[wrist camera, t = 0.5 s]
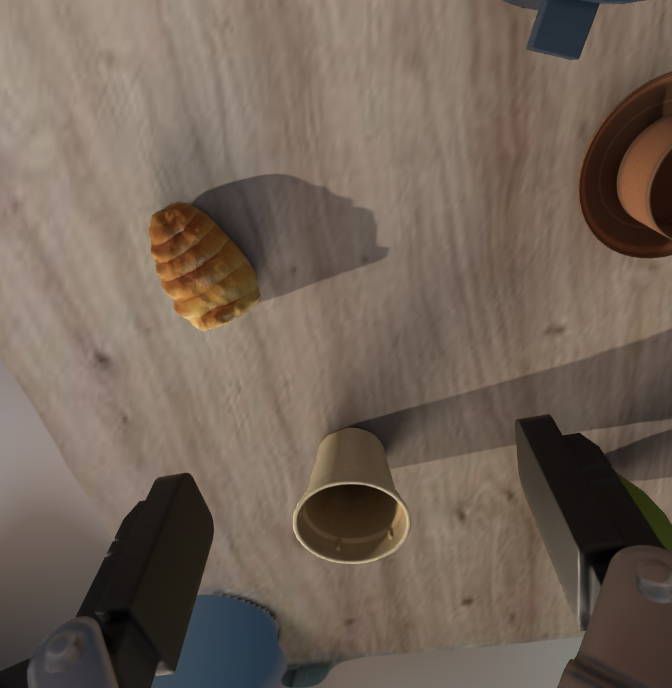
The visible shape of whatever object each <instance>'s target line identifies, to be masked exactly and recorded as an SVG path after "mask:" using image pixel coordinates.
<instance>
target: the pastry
mask: <svg viewBox="0 0 672 688" xmlns="http://www.w3.org/2000/svg"><path fill="white" fill-rule="evenodd" d="M148 232H149V236H150V239H151V255H152V256H153V257H154V259H155V261H156V271H157V274H158V275H159V276H160V278H161V280H162V282H161V285H162V287H163V289H164V290H165V291H166V293H167V295H168V296H169V297H171V298H173V299H174V309H175V311H176V312H177V313H178V314H179V315H180V316H182V317H185V318H188V319H189V320H190V322H191V324H193V325H194V326H195V327H197V328H199V329H200V330H210V329H213V328H216V327H219V326H222V325H225V324H227V323H229V322H231V321H232V320H233V319H234V318H236V317H239V316H241V315H242V314H244V313H245V312H246V311H248V310H249V309H251V308H252V307H253V306H254V305H255V304H256V303H257V302H258V301H259V296H260V294H259V288H258V284H257V278H256V273H255V271H254V269H253V268H252V266H251V264H250V262H249V261H248V259H247V257H246V256H245V255H244V254H243V253H242V252H241V251H240V250H239V248H238V247H237V246H236V245H235V244H234V242H233V241H232V240H231V239H230V238H229V237H228V236H227V235H226V234H225V232H224V231H222V230H221V228H219V226H218V225H217V224H216V223H215V222H214V221H213V220H212V219H211V218H210V217H209V216H208V215H207V214H205V213H204V212H203V211H201V210H199V209H197V208H195V207H194V206H192V205H190V204H187V203H181V202H177V203H174V204H171V205H169V206H167V207H165V208H164V209H162V210H161V211H158V212H156V213H155V214H153V215H152V218H151V222H150V227H149V230H148Z"/></svg>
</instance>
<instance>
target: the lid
mask: <svg viewBox="0 0 672 688" xmlns="http://www.w3.org/2000/svg"><path fill="white" fill-rule="evenodd" d="M581 1H587V2H594V3H600V4H624V3H631V2H637V1H644V0H581Z"/></svg>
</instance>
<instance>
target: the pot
mask: <svg viewBox="0 0 672 688" xmlns="http://www.w3.org/2000/svg"><path fill="white" fill-rule="evenodd" d="M504 1H505V2H507V3H510V4H513V5H516V6H519V7H522V8H528V9H534V10H538V13H537V16H536V19H535V22H534V25H533V28H532V32H531V35H530V38H529V41H528V44H527V47H526V49H527V50H531V51H535V52H539V53H544V54H548V55H552V56H556V57H561V58H565V59H569V60H577V59H579V57H580V55H581V52H582V49H583V47H584V44H585V41H586V39H587V36H588V33H589V31H590V28H591V25H592V23H593V20H594V17H595V15H596V12H597V9H598V7H599V4H600V3H594V2H587V1H581V0H504Z"/></svg>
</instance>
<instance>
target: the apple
mask: <svg viewBox="0 0 672 688" xmlns="http://www.w3.org/2000/svg"><path fill="white" fill-rule="evenodd" d="M616 474H617V475H618V477H619V478H620V480H621V483H622V484H624V486H625V487H626V489H627V491H628V492H629V494H630V495H631V497H632V498H633V500H634V501H635V503H636V504H637V506H638V508H639V509H640V511H641V512H642V514H643V515H644V517H645V518H646V520H647V521H648V523H649V525H650V526H651V528H652V529H653V531H654V532H655V534H656V535H657V537H658V538H659V540H660V541H661V543H662V544H663V545H664V547H665V548H666V549H667V550H668V551H670V552H672V525H671V523H670V521H669V520H668V518H667V516H666V515H665V514H664V512H663V511H662V510H661V509H660V508H659V507H658V506H657V505H656V504H655V503H654V502H653V501H652V500H651V499H650V498H649V497H648V496H647V495H646V494H645V493H644V491H642V490H641V489H639V488H638V487H636V486H635V485H634V484H632V483H631V482H629V481H628V480H626V479H625V478H623V477H622V476H621V475H619V474H618V473H616Z"/></svg>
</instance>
